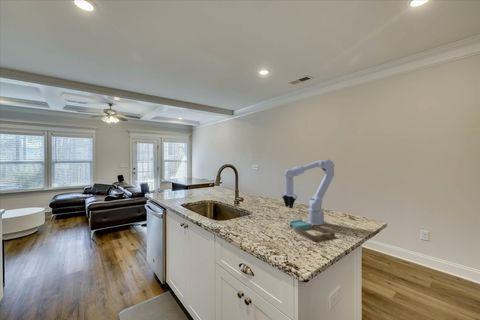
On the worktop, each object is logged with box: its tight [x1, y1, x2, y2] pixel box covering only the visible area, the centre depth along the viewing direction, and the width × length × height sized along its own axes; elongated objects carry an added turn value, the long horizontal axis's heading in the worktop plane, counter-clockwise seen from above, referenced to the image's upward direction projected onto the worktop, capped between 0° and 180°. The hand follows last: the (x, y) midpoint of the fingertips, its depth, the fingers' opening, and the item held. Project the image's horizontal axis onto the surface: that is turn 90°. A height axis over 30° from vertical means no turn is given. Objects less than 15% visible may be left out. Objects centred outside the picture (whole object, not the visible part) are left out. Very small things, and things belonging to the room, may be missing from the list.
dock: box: [294, 225, 336, 242], centre depth 118 cm, size 15×15×2 cm
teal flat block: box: [289, 218, 311, 231], centre depth 130 cm, size 10×8×4 cm
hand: (288, 207), depth 140 cm, fingers open, 4 cm apart
